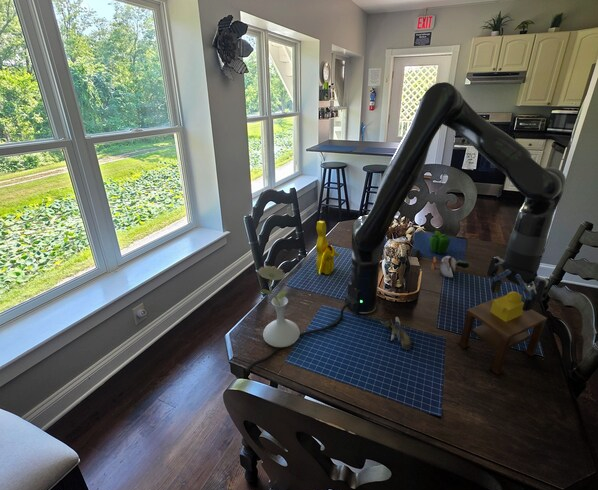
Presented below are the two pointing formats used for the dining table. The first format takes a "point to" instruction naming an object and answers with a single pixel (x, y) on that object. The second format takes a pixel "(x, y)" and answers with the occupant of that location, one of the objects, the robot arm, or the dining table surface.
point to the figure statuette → (324, 251)
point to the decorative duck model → (449, 266)
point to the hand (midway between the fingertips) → (510, 300)
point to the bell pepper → (439, 242)
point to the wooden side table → (503, 331)
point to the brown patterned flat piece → (414, 252)
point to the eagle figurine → (399, 333)
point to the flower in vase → (278, 314)
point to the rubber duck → (508, 306)
